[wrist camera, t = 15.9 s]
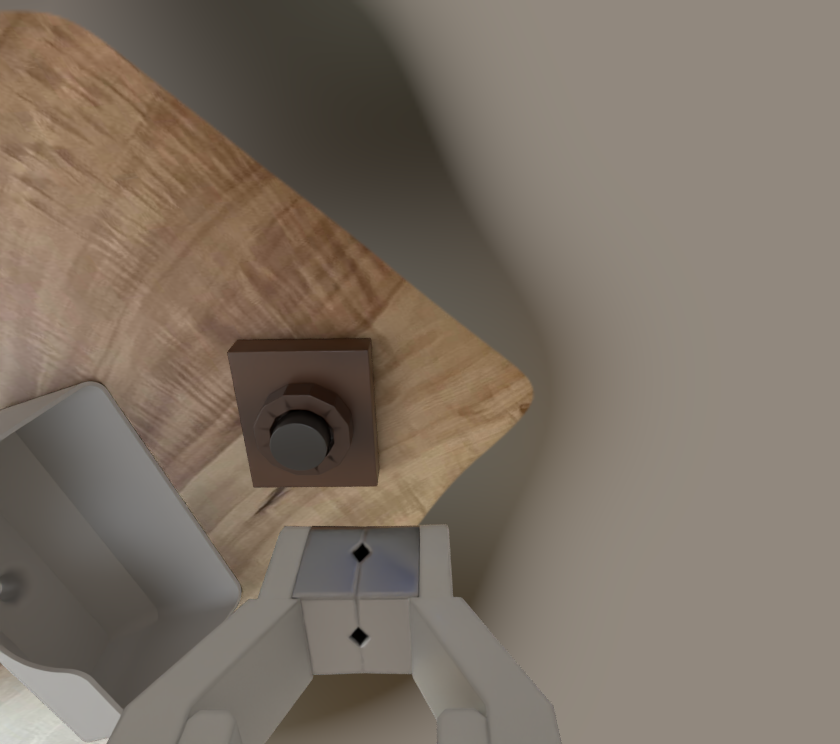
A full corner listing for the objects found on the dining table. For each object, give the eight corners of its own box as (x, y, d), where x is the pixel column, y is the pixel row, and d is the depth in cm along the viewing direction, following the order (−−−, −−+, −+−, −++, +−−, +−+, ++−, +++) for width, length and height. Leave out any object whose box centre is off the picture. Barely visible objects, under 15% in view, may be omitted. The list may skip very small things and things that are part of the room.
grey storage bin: (-73, 429, 43) (-246, 542, 32) (96, 373, 41) (-28, 474, 30) (103, 628, 54) (19, 766, 43) (246, 593, 51) (197, 728, 40)
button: (272, 410, 38) (265, 423, 37) (328, 410, 38) (323, 423, 37) (279, 456, 40) (273, 471, 38) (332, 456, 40) (329, 470, 38)
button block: (236, 339, 40) (217, 363, 36) (371, 337, 40) (366, 361, 36) (260, 471, 45) (246, 502, 41) (379, 470, 45) (375, 501, 41)
